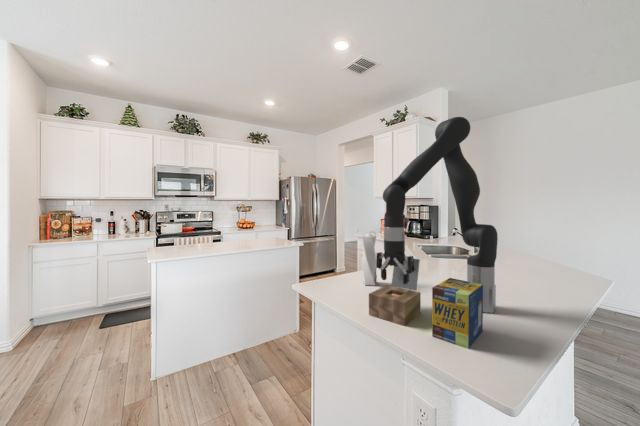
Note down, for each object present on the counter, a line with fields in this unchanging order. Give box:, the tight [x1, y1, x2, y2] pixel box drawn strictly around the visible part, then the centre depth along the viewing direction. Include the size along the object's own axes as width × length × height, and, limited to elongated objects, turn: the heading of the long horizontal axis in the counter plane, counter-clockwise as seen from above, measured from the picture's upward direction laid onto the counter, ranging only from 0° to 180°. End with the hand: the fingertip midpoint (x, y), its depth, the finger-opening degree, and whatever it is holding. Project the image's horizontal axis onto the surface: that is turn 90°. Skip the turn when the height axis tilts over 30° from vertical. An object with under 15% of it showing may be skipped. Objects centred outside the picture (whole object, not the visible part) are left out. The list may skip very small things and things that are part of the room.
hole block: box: [368, 285, 422, 327], centre depth 98 cm, size 14×14×8 cm
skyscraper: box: [361, 231, 380, 287], centre depth 136 cm, size 8×8×28 cm
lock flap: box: [390, 258, 420, 292], centre depth 105 cm, size 12×10×1 cm
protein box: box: [431, 277, 484, 349], centre depth 82 cm, size 10×15×16 cm
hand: (394, 281), depth 98 cm, fingers open, 8 cm apart
